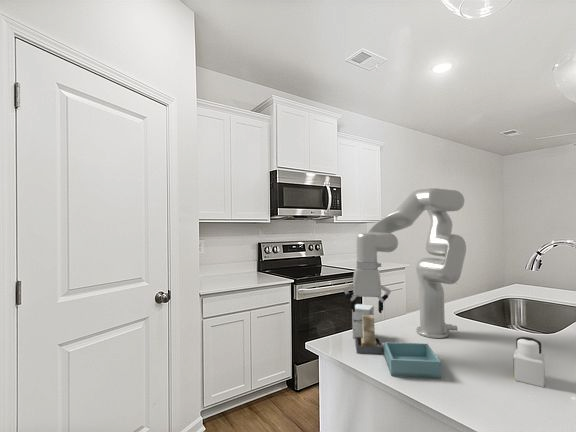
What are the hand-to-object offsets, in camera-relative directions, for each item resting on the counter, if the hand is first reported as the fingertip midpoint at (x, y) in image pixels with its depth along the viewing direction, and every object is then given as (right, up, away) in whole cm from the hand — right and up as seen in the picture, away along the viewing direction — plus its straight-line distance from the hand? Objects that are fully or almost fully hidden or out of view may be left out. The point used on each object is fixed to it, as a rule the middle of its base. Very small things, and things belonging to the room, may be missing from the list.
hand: (366, 311), depth 123 cm
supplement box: (+2, -14, +12) cm, 19 cm away
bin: (+11, -14, -15) cm, 23 cm away
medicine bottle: (+43, -13, -25) cm, 51 cm away
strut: (+1, -14, 0) cm, 14 cm away
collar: (+1, -14, 0) cm, 14 cm away
